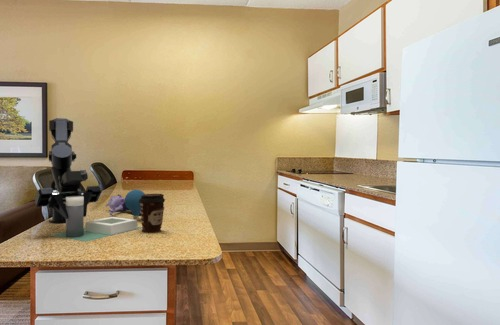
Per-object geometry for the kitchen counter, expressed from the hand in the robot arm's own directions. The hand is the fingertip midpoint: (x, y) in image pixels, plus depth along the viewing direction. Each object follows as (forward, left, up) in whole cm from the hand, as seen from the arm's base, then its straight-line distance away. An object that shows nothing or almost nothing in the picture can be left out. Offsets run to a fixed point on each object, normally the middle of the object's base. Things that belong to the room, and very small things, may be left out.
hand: (76, 217), depth 122 cm
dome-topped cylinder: (-1, 0, -6) cm, 6 cm away
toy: (-20, +45, -7) cm, 50 cm away
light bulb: (-7, +33, -7) cm, 35 cm away
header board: (0, +9, -7) cm, 11 cm away
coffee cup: (+14, +18, -7) cm, 24 cm away
